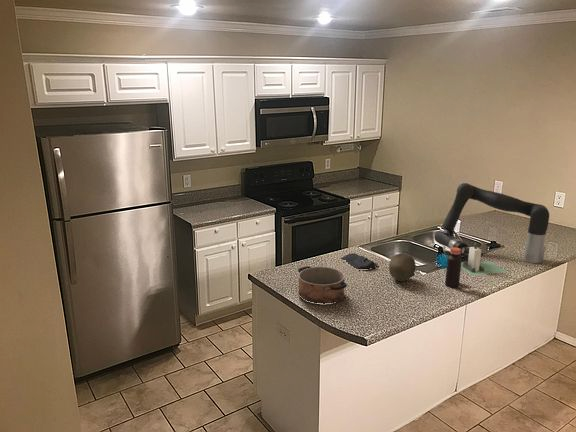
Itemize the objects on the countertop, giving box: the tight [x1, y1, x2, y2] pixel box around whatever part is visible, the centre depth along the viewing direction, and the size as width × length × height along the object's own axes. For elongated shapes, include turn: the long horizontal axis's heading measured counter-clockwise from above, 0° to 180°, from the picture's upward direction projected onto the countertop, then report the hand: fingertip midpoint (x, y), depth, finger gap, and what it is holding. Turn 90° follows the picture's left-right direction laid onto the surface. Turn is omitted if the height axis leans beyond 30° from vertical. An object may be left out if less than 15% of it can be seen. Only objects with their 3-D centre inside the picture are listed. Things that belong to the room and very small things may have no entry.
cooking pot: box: [297, 265, 348, 304], centre depth 223 cm, size 30×22×11 cm
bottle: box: [444, 247, 463, 289], centre depth 232 cm, size 7×7×20 cm
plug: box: [467, 242, 482, 271], centre depth 251 cm, size 4×6×15 cm, turn 12°
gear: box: [436, 253, 449, 269], centre depth 258 cm, size 11×6×10 cm
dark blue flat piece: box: [341, 253, 378, 269], centre depth 264 cm, size 15×22×5 cm
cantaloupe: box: [388, 252, 417, 282], centre depth 239 cm, size 14×14×15 cm
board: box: [461, 261, 508, 276], centre depth 254 cm, size 22×16×1 cm
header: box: [462, 262, 484, 272], centre depth 254 cm, size 8×11×2 cm
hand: (474, 256), depth 251 cm, fingers open, 8 cm apart
